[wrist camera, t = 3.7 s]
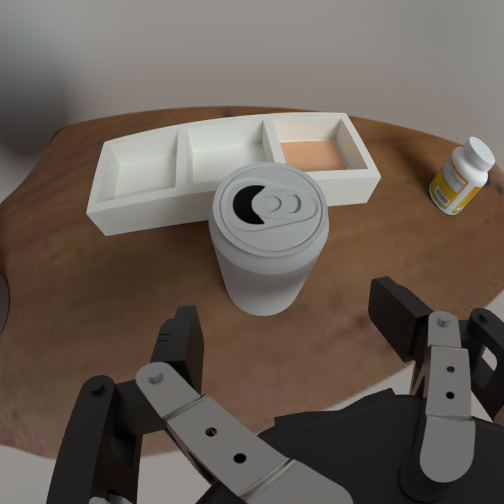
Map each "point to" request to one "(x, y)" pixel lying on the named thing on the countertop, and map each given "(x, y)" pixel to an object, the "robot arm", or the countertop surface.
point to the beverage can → (267, 234)
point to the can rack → (222, 166)
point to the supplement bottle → (461, 176)
